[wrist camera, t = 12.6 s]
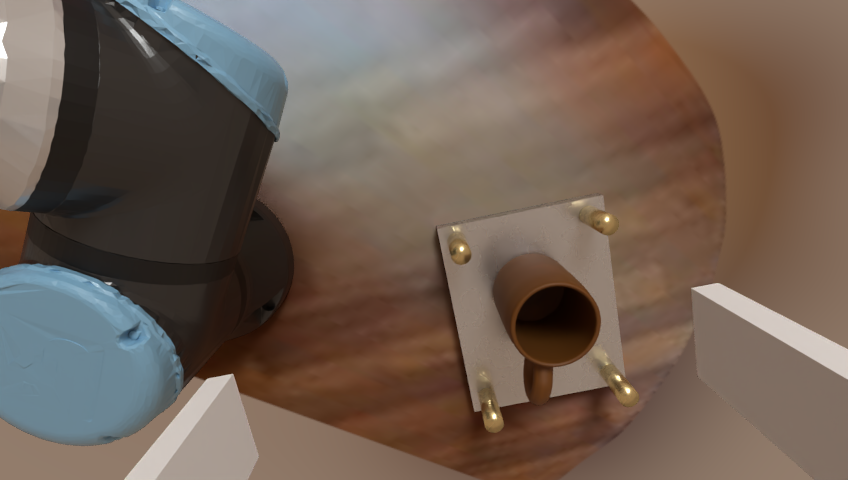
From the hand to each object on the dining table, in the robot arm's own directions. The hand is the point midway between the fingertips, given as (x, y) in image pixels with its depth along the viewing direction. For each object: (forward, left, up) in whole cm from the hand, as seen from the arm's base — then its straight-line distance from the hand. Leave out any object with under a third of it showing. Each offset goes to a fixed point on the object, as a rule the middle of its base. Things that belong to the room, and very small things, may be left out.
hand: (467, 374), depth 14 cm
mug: (+7, -13, -33) cm, 36 cm away
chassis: (+8, -13, -35) cm, 38 cm away
